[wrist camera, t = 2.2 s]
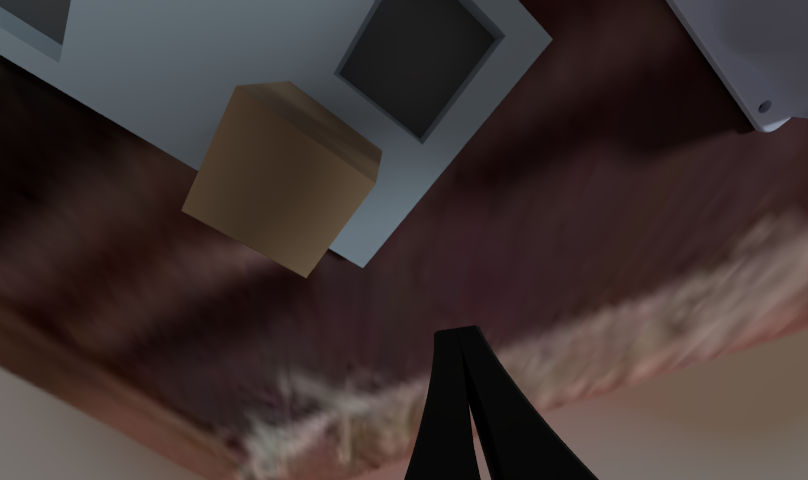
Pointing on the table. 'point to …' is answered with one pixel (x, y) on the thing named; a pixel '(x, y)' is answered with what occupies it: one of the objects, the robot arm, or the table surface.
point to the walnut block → (282, 174)
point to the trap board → (289, 74)
